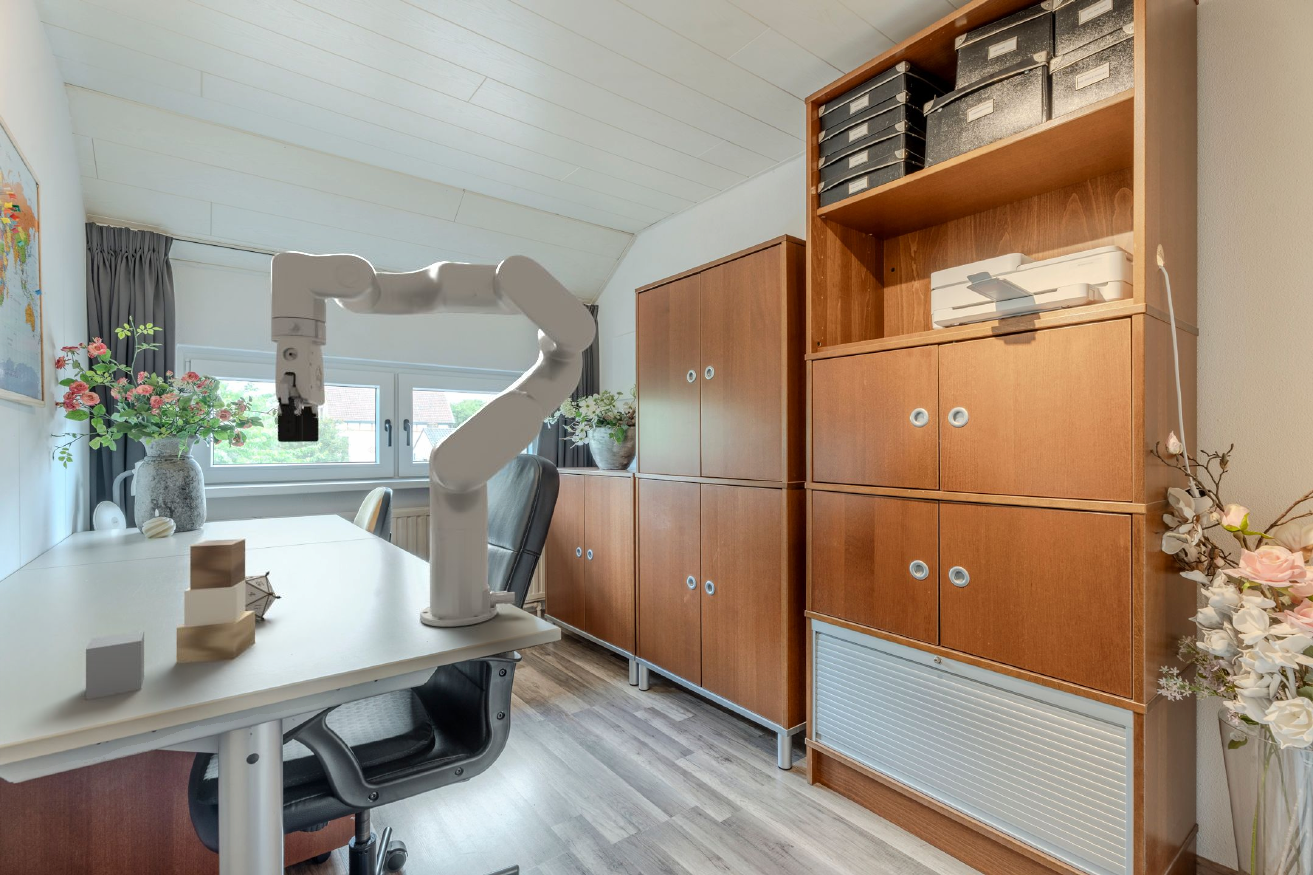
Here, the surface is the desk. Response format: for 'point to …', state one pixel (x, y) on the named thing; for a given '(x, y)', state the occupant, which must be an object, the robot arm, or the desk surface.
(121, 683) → the slate block
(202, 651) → the tower base
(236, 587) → the tower top
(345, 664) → the desk surface
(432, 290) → the robot arm
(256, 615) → the game die
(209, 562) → the walnut block
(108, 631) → the desk surface
